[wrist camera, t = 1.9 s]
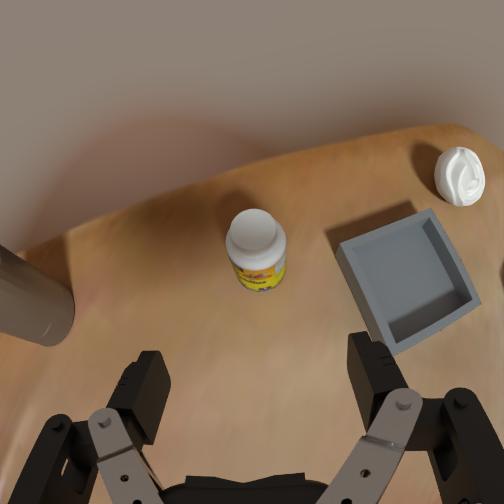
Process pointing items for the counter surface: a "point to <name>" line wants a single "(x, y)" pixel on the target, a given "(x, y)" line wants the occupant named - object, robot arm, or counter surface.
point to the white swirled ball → (459, 176)
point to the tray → (407, 280)
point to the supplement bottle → (257, 250)
